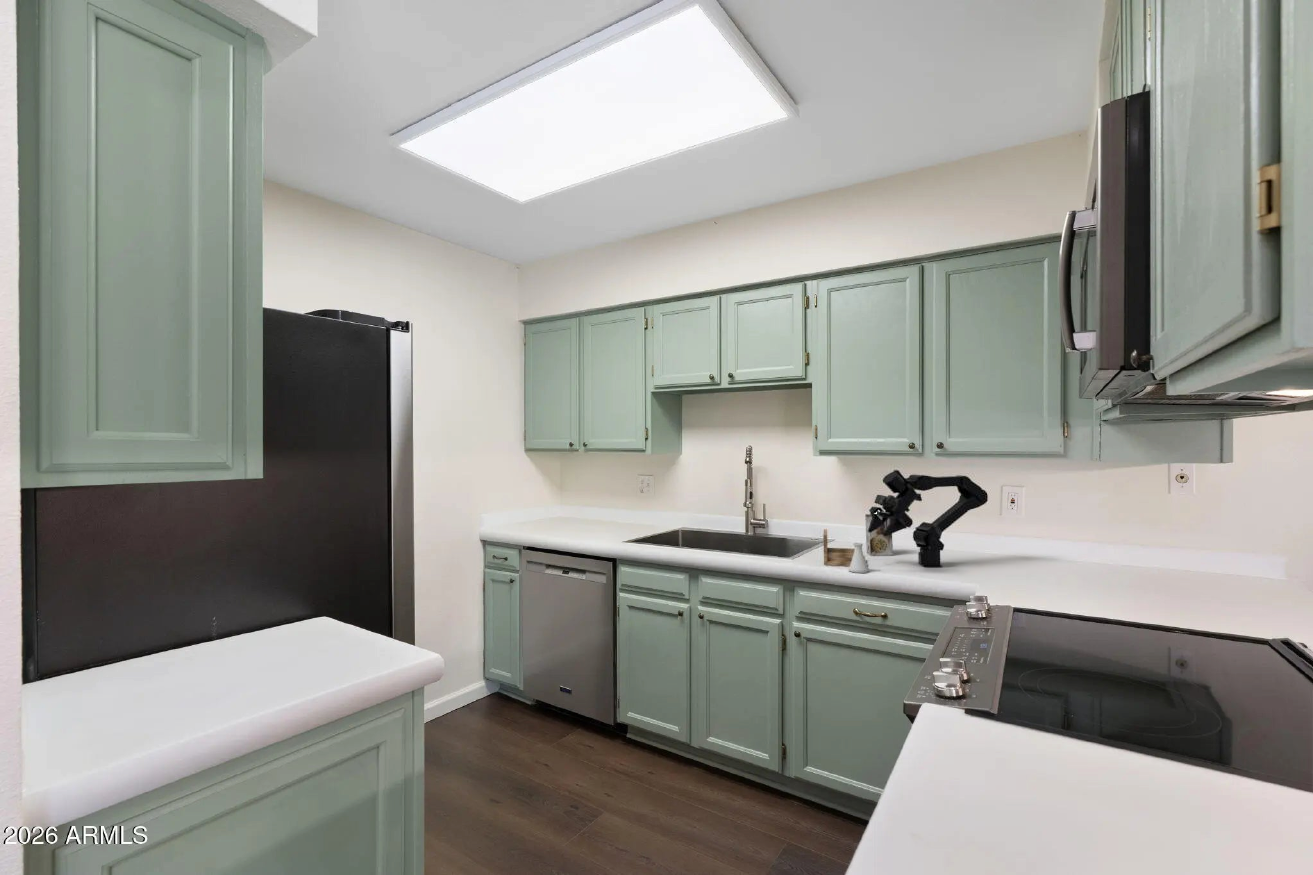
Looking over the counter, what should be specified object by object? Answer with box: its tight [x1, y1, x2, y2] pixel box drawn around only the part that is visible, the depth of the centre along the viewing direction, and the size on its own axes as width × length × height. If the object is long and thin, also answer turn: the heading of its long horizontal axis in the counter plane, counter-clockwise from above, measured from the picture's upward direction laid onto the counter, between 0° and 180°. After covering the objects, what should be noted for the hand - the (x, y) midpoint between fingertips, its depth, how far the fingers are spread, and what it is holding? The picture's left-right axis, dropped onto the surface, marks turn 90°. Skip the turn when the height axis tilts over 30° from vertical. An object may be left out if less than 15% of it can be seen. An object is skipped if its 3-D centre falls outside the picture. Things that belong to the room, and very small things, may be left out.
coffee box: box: [865, 513, 894, 557], centre depth 243 cm, size 9×6×16 cm
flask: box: [848, 542, 870, 574], centre depth 214 cm, size 7×7×10 cm
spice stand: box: [822, 529, 867, 568], centre depth 229 cm, size 15×14×12 cm
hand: (876, 533), depth 215 cm, fingers open, 9 cm apart
